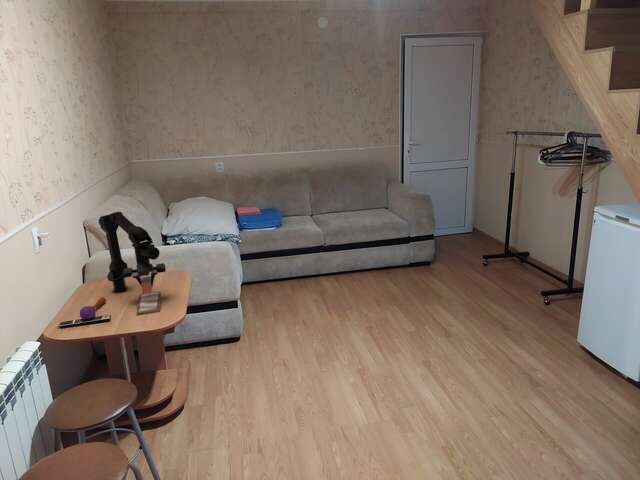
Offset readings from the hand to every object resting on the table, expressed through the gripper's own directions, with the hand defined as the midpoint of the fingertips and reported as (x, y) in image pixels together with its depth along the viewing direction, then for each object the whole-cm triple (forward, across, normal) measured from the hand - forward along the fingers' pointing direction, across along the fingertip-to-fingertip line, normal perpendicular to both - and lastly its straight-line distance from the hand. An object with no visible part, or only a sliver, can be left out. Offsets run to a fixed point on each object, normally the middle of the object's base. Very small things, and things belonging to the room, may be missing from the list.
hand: (147, 287), depth 222 cm
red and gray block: (+1, 0, 0) cm, 1 cm away
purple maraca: (+7, -24, -3) cm, 25 cm away
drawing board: (+7, 0, -4) cm, 8 cm away
